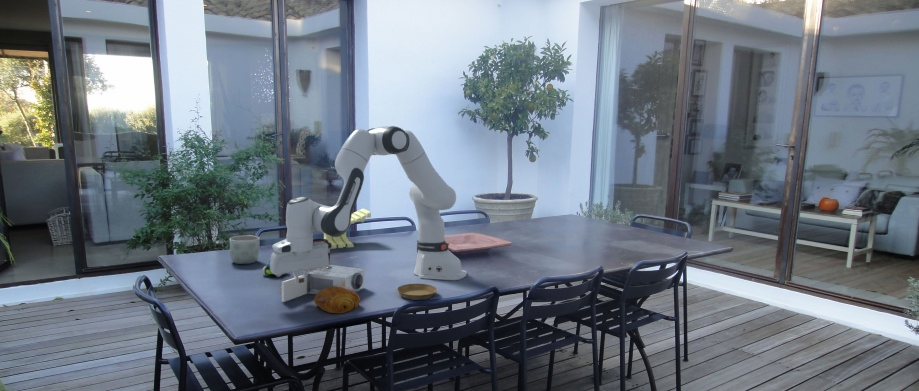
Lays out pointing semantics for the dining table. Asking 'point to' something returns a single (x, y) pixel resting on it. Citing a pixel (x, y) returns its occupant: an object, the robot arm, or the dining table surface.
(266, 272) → the rainbow toy
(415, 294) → the plant saucer
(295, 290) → the panel
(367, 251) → the dining table surface
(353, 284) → the camera housing
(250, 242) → the planter
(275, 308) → the dining table surface
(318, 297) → the croissant
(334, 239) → the pale yellow ridged piece
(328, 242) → the coffee cup
